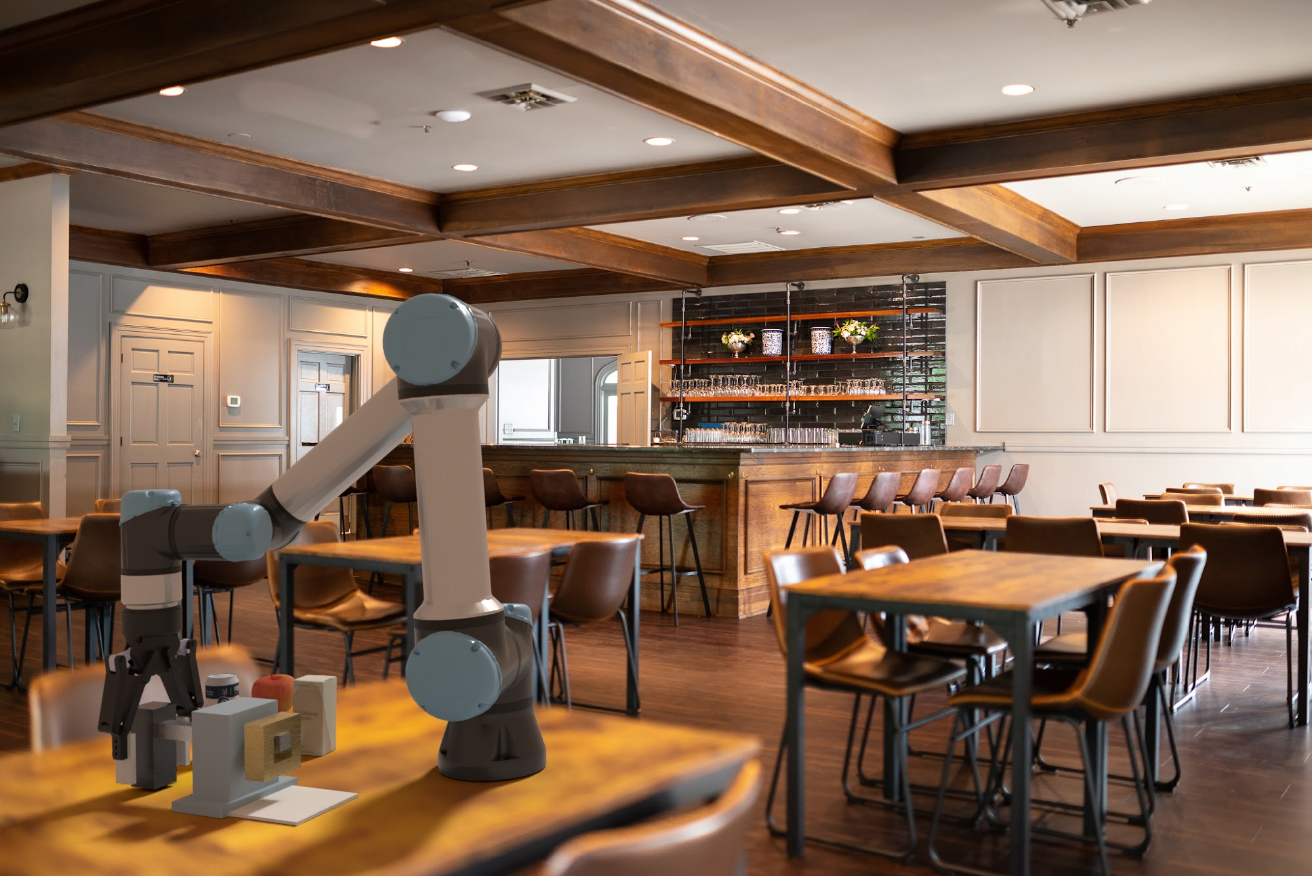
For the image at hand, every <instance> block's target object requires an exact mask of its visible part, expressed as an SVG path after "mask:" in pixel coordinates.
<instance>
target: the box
mask: <svg viewBox="0 0 1312 876" xmlns="http://www.w3.org/2000/svg"><path fill="white" fill-rule="evenodd" d="M294 679H295V680H293V706H292V713H301V756H314V757H323V756H326V755H327V754H329V753H331V752H333V751H335V750H336V749H337V690H338V689H337V685H338V684H337V683H338V681H337V680H338V677H337V676H335V675H324V674H322V675H321V674H317V675H316V674H307V675H304V676H300V677H298V678H294Z"/></svg>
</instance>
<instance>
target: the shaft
mask: <svg viewBox="0 0 1312 876" xmlns="http://www.w3.org/2000/svg"><path fill="white" fill-rule="evenodd" d="M176 716H177V714H176V703H171V702H166V701H156V700H152V701H149V702H145V703H141V704H139V706H138V709H137V712H136V715H135V718H134V721H133V724H132V727H131V730H130V733H136V784H133V785H130V787H133V788H140V789H148V790H157V789H159V788H161V787H165V786H168V785H170V784H173V783H175V782H177V781H178V771H177V770H178V768H177V767H178V765H177V750H176V740H179V741H188V742H190V743H192V722H187V721H178V720H176ZM273 738H274V751H278V752H281V751H284V750H287V749H289V748H291V732H286V733H283V734H280V735H278V736H275V737H273Z"/></svg>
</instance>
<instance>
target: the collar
mask: <svg viewBox="0 0 1312 876" xmlns="http://www.w3.org/2000/svg"><path fill="white" fill-rule="evenodd" d="M286 732H291V748H289V749H287V750H284V751H281V752H278V751H274V738H273V737H275V736H278V735H280V734H283V733H286ZM244 741H245V780H250V781H258V782H266V781H269V780H271V779H274V778H276V777H279V776H281V775H283V776H284V775H285V774H288V773H291V772H293V771H295V770H298V769H301V768H302V755H301V713H293V712H289V711H287V712H279V713H276V714H273V715H270V716H267V717H264V718H261V719H258V720H255V721H252V722H249V723H246V724H244Z"/></svg>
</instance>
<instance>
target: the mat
mask: <svg viewBox="0 0 1312 876" xmlns="http://www.w3.org/2000/svg"><path fill="white" fill-rule="evenodd" d="M358 797H359V793H357V792H348V791H341V790H334V789H333V790H332V789H325V788H318V787H317V788H316V787H309V786H300V785H298V786H294V785H292V786H290V787H287V788H285V789H283V790H280V791H278V792H276V793H273V794H271V795H269V796H266V797H264V798H261V799H259V800H257V801H254V802H252V803H250V804H247V805H245V806H243V807H240V808H238V809H235V810H233V811H231V812H228V816H227V817H233V818H240V819H246V820H247V819H248V820H255V821H262V822H270V823H276V824H283V825H289V826H299V825H301V824H303V823H305V822H307V821H309V820H311V819H314V818H316V817H318V816H320V815H322V814H324V813H327V812H328V811H330V810H331V811H332V810H333V809H335V808H337V807H339V806H341V805H343V804H345V803H347V802H349V801H352V800H353V799H356V798H358Z"/></svg>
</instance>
